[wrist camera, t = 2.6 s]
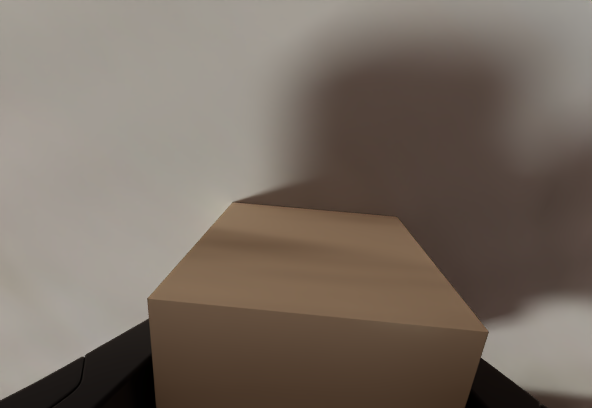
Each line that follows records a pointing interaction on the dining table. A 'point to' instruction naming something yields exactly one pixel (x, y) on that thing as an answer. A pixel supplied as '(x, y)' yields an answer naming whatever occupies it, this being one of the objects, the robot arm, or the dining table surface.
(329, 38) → the dining table surface
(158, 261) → the dining table surface
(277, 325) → the maple cube
